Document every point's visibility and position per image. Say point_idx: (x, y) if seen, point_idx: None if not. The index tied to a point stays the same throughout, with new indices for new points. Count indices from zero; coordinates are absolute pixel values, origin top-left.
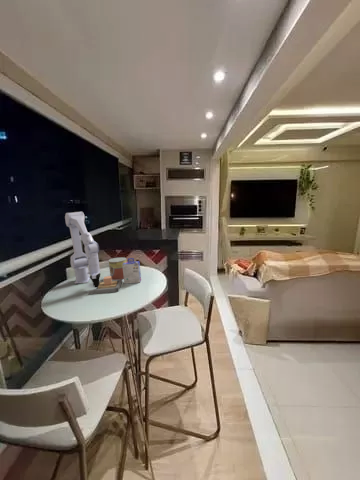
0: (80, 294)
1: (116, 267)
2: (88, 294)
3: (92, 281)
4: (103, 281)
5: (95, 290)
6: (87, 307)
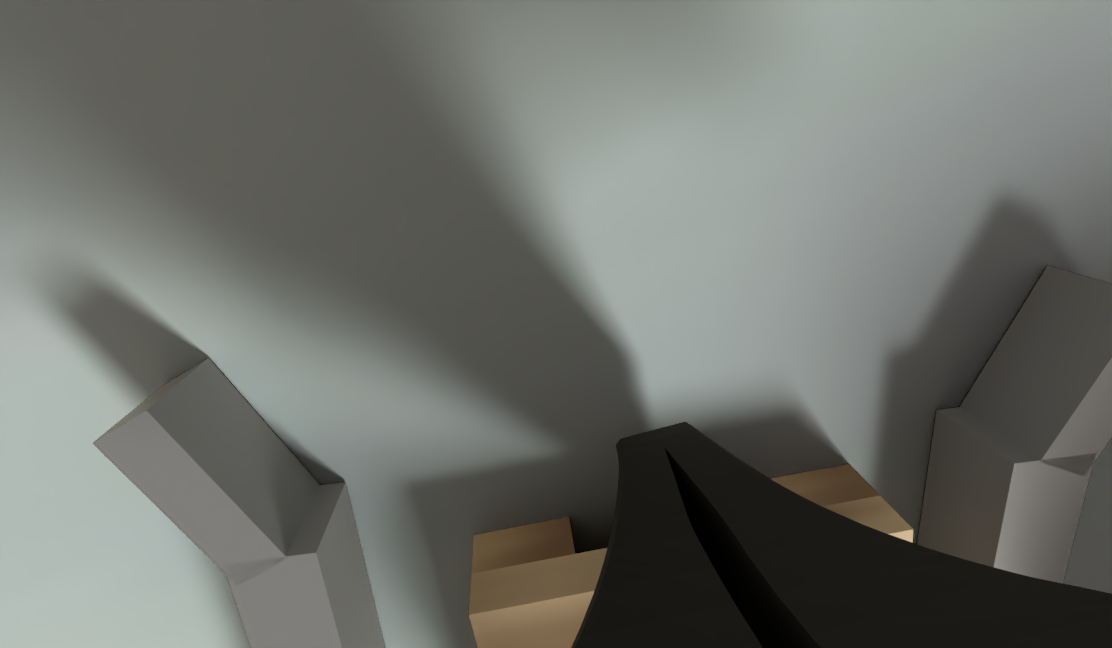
0: (189, 87)
1: None
2: (156, 393)
3: (594, 592)
4: None
5: (245, 612)
6: None
